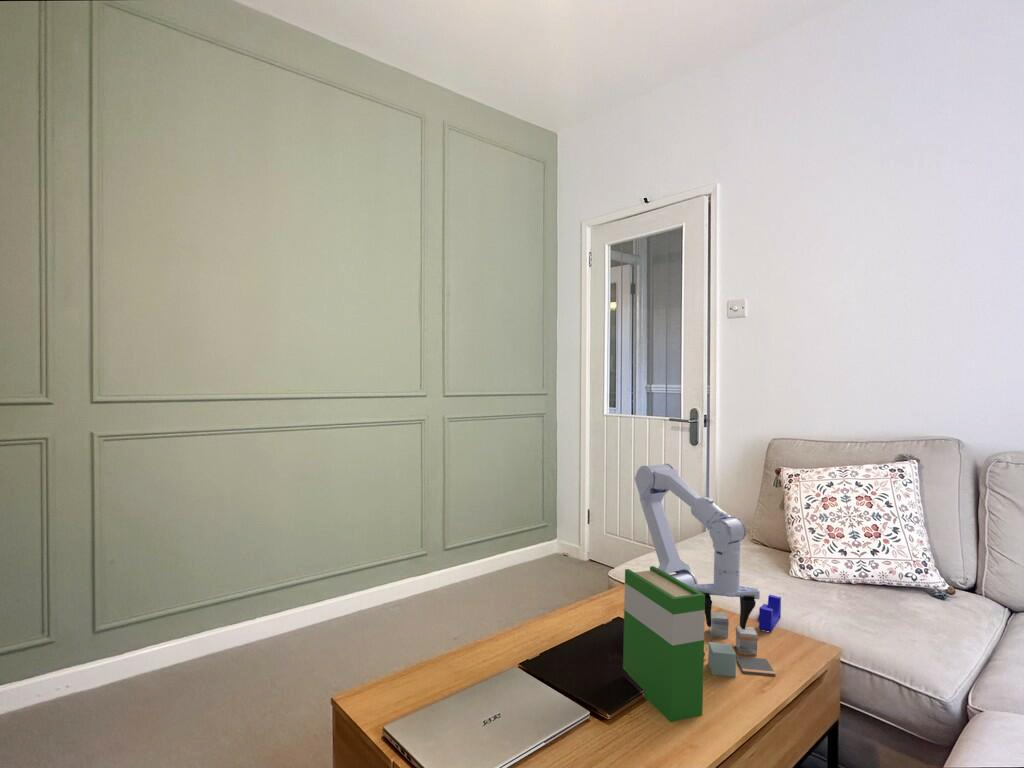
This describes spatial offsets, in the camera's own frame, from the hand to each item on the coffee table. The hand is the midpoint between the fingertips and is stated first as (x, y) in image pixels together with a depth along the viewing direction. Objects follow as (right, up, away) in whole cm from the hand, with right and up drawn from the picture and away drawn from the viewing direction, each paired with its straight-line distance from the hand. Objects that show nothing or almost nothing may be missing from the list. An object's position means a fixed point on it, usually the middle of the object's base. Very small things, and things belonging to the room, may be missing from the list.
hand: (725, 626), depth 135 cm
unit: (-3, -8, -5) cm, 10 cm away
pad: (+6, -8, -3) cm, 10 cm away
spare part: (+7, -8, +5) cm, 12 cm away
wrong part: (+3, -8, +14) cm, 16 cm away
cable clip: (+19, -8, +21) cm, 30 cm away
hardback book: (-19, -8, -15) cm, 26 cm away
